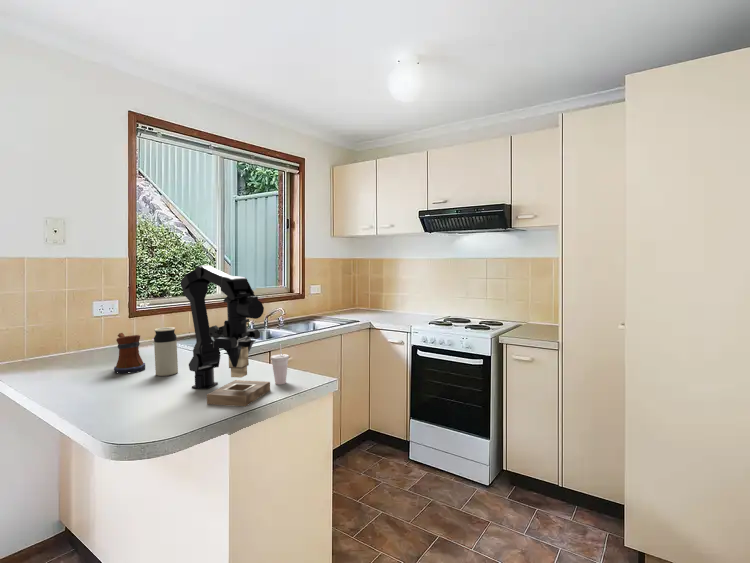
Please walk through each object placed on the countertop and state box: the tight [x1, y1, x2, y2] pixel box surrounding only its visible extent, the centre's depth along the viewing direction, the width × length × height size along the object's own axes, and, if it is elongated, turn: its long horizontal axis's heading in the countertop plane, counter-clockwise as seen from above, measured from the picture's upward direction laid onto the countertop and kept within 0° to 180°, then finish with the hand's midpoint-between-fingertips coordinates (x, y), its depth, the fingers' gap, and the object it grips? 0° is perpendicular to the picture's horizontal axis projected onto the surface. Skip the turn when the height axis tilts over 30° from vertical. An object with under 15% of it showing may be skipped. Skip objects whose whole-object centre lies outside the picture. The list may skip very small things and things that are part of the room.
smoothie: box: [270, 343, 290, 385], centre depth 154 cm, size 6×6×14 cm
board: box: [206, 379, 271, 407], centre depth 139 cm, size 16×13×3 cm
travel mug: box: [153, 326, 179, 377], centre depth 170 cm, size 8×8×18 cm
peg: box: [228, 347, 249, 379], centre depth 138 cm, size 4×4×9 cm
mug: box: [113, 332, 146, 374], centre depth 179 cm, size 18×12×15 cm, turn 43°
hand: (238, 365), depth 138 cm, fingers closed on peg, 4 cm apart
